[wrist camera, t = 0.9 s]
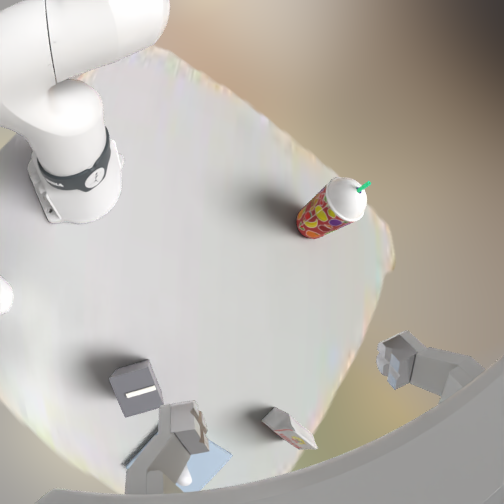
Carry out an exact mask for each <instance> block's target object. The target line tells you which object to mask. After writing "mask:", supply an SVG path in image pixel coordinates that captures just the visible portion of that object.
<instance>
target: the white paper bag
mask: <svg viewBox="0 0 504 504" xmlns="http://www.w3.org/2000/svg"><path fill="white" fill-rule="evenodd" d="M262 422H263V423H264V424H266V425H267V426H268V427H269V428H270V429H272V430H273V431H274V432H275V433H276V434H278V435H279V436H280V437H282V438H283V439H284V440H285V441H287V442H288V443H290V444H291V445H293V446H294V447H296V448H298V449H316V448H315V447H317V446H316V443H315V440H314V437H313V434H312V433H311V432H309V431H308V430H307V429H306V428H305V427H303V426H302V425H301V424H300V423H299V422H298V421H296V420H295V419H294V418H293V417H292V416H291V415H289V414H288V413H286V412H284V411H282V410H280V409H278V408H276V407H274V408H273V409H272V410H271V411H270V412H269V413H268V414H267V415H266V416H265V418H264V419H263V420H262ZM317 448H318V447H317Z"/></svg>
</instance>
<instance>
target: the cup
mask: <svg viewBox="0 0 504 504" xmlns="http://www.w3.org/2000/svg"><path fill="white" fill-rule="evenodd" d="M12 304H13V290H12V288H11V286H10V284H9V283H8V282H7V281H6V280H5V279H4V278H3V277H1V276H0V315H1V314H5V313H6V312H8V311H9V310H10V308H11V306H12Z"/></svg>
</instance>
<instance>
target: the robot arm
mask: <svg viewBox="0 0 504 504" xmlns="http://www.w3.org/2000/svg"><path fill="white" fill-rule="evenodd" d="M45 9H46V14H45ZM169 13H170V1H169V0H45V3H44V0H23V1H21V2H19V3H17V4H14V5H12V6H10V7H8V8H6V9H4V10H1V11H0V126H1V127H4V128H7V129H10V130H12V131H14V132H16V133H18V134H20V135H21V136H22V137H24V138H25V139H26V140H27V142H28V143H29V145H30V146H31V148H32V150H33V151H32V153H31V157H32V158H31V160H30V161H29V163H28V166H27V169H28V172H29V176H30V178H31V180H32V183H33V185H34V188H35V191H36V193H37V195H38V198H39V200H40V203H41V205H42V207H43V210H44V212H45V214H46V216H47V219H48V221H49V222H50V223H52V224H56V223H61V222H72V223H77V224H83V223H89V222H93V221H95V220H98V219H100V218H101V217H103V216H104V215H106V214H107V213H108V212H109V211H110V210H111V209H112V208H113V207H114V205H115V204H116V202H117V201H118V199H119V196H120V193H121V189H122V177H121V171H122V168H123V166H124V162H125V160H124V156H123V155H122V154H120V153H119V152H117V148H116V144H115V141H114V140H111V139H110V137H109V133H108V130H107V128H106V126H105V120H104V110H103V102H102V99H101V97H100V95H99V93H98V92H97V91H96V90H95V89H94V88H93V87H91V86H90V85H88V84H86V83H85V82H82V81H80V80H75V79H68V78H71V77H74V76H76V75H79V74H82V73H84V72H87V71H90V70H93V69H96V68H99V67H102V66H105V65H108V64H111V63H115V62H117V61H119V60H121V59H123V58H125V57H128V56H130V55H132V54H134V53H137V52H139V51H141V50H143V49H145V48H148V47H150V46H152V45H153V44H155V42H156V41H157V40H158V39H159V37H160V36H161V34H162V33H163V31H164V29H165V27H166V25H167V22H168V18H169ZM46 21H47V24H46ZM47 30H48V32H47ZM48 38H49V40H48ZM49 45H50V47H49ZM50 52H51V53H50ZM51 57H52V60H51ZM52 63H53V65H52ZM53 68H54V71H53ZM54 73H55V76H54ZM51 210H53V211H52V212H51V213H50V211H51ZM377 350H378V351H379V354H378V356H377V360H376V362H377V366H378V369H379V371H380V372H381V374H382V375H384V376H388V380H387V381H388V382H389V384H390V385H391V386H392V387H393V388H394V390H396V389H398V388H400V387H402V386H404V385H406V384H408V383H410V384H413V385H415V386H417V387H420V388H422V389H425V390H427V391H429V392H432V393H434V394H437V395H439V396H441V398H440V401H439V403H438V405H437V406H435V407H434V408H432V409H430V410H429V411H427V412H425V413H424V414H422V415H421V416H419V417H417V418H415V419H414V420H412V421H410V422H408V423H407V424H405V425H403V426H401V427H399V428H397V429H396V430H394V431H392V432H390V433H388V434H386V435H384V436H382V437H380V438H378V439H376V440H374V441H372V442H369V443H367V444H365V445H363V446H360V447H359V448H356V449H354V450H351V451H349V452H346V453H344V454H342V455H339V456H337V457H334V458H331V459H329V460H326V461H324V462H320V463H318V464H315V465H312V466H309V467H306V468H303V469H299V470H296V471H293V472H290V473H286V474H283V475H279V476H275V477H271V478H267V479H263V480H259V481H255V482H250V483H245V484H240V485H235V486H230V487H224V488H217V489H211V490H203V491H195V492H185V493H184V492H183V491H182V490H181V489H180V488H179V487H178V486H176V483H177V481H178V479H179V477H180V475H181V474H182V472H183V470H184V468H185V466H186V464H187V462H188V460H189V458H190V457H191V455H193V454H199V453H204V452H209V442H208V438H207V437H206V435H205V434H206V432H207V426H206V422H205V418H204V416H203V414H202V412H201V411H199V410H198V404H197V403H196V401H195V400H193V401H186V402H180V403H173V404H168V405H161V406H160V408H159V422H158V435H155V436H154V437H153V438H152V440H151V441H150V442H149V443H148V445H147V446H146V447H145V448H144V450H143V451H142V452H141V454H140V455H139V456H138V457H137V459H136V460H135V461H134V462H133V464H132V465H131V466H130V467H129V469H128V470H127V472H126V484H125V494H104V493H93V492H83V491H75V490H68V489H62V488H53V489H51V490H50V491H48V492H47V493H46V494H45V495H43V496H42V497H41V498H40V499H39V500H38V501H37V502H36V503H35V504H504V354H503V355H502V357H500V358H499V359H498V360H497V361H496V362H494V363H493V364H492V365H491V366H490V367H488V368H487V369H485V368H483V367H482V366H481V365H480V364H479V363H478V362H477V361H475V360H474V359H473V358H472V357H471V356H467V355H463V354H458V353H453V352H449V351H445V350H440V349H436V348H432V347H429V348H426V347H425V346H424V345H423V344H422V343H421V342H420V341H419V340H418V339H417V338H416V337H414V336H413V335H412V334H411V333H410V332H409V331H407V330H405V331H403V332H401V333H399V334H397V335H395V336H392V337H390V338H388V339H386V340H384V341H382V342H379V344H378V348H377Z"/></svg>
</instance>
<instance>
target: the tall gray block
mask: <svg viewBox="0 0 504 504" xmlns="http://www.w3.org/2000/svg"><path fill="white" fill-rule="evenodd" d="M109 381H110V383H111V386H112V388H113V391H114V393H115V396H116V398H117V400H118V403H119V405H120V407H121V410H122V412H123V414H124V416H125V417H129V416H133V415H136V414H140V413H144V412H147V411H150V410H154V409H157V408H160V406H161V405H164V402H163V397H162V392H161V389H160V387H159V384H158V382H157V379H156V377H155V374H154V372H153V369H152V366H151V364H150V361H149V360H146V361H143V362H139V363H136V364H132V365H129V366H125V367H122V368H118V369H116V371H115V372H114V373H113V374H112V375H111V376H110V377H109Z"/></svg>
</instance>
